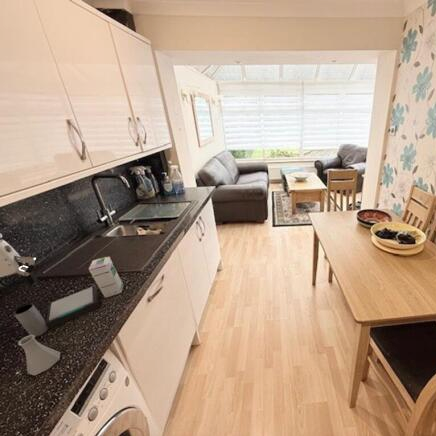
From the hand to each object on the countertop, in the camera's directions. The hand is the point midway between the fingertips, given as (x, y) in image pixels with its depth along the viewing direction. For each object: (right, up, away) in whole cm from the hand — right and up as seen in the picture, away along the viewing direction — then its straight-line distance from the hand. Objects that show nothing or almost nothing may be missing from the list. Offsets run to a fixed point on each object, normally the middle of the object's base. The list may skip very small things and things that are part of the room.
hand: (13, 290), depth 73 cm
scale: (+5, -11, +16) cm, 20 cm away
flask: (+14, -20, -4) cm, 25 cm away
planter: (+1, -16, +7) cm, 18 cm away
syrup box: (+14, -7, +23) cm, 28 cm away
